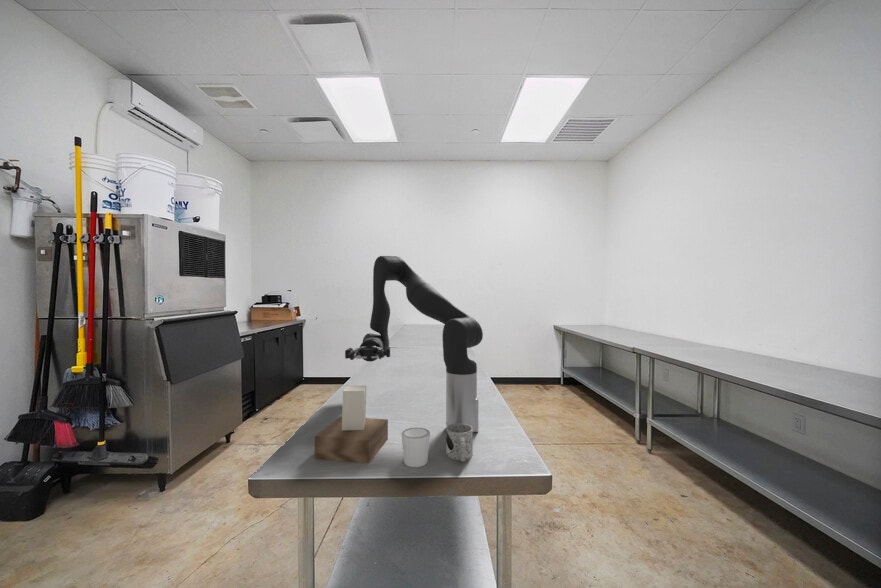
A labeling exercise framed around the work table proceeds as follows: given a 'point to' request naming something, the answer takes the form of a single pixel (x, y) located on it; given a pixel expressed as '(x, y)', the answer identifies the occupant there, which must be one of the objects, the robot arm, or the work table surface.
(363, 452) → the walnut block
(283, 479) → the work table surface
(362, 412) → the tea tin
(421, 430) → the shot glass
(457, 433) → the mug
